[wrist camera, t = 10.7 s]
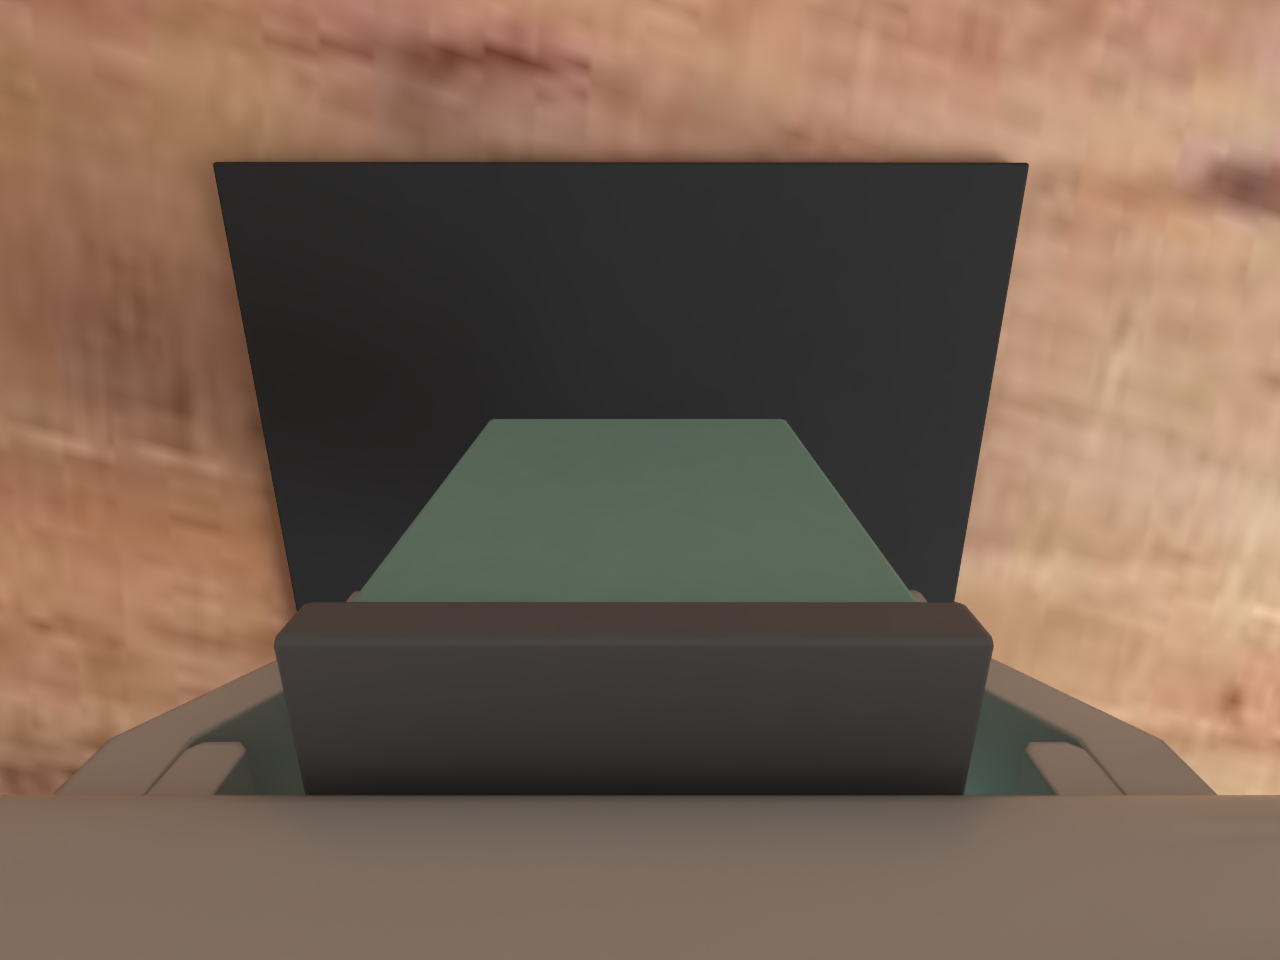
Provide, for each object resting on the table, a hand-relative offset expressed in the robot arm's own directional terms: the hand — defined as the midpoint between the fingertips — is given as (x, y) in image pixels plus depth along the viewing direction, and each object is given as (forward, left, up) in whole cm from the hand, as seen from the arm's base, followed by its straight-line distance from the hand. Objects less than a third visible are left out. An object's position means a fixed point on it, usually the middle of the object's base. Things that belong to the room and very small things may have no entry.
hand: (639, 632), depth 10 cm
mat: (0, 0, -8) cm, 8 cm away
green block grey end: (0, 0, -3) cm, 3 cm away
